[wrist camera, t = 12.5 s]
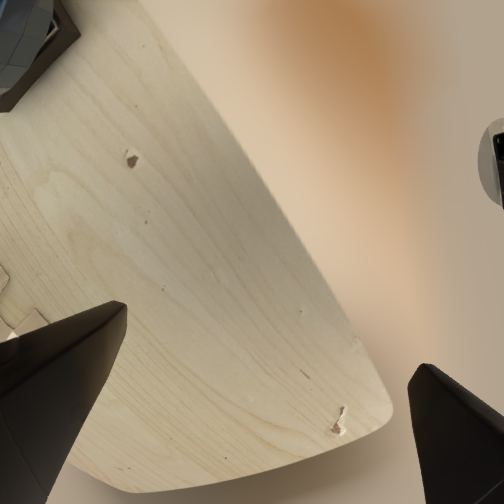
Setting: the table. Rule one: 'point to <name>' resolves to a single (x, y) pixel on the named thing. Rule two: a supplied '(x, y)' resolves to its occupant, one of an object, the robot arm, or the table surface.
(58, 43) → the scale
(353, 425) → the table surface
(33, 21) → the bowl
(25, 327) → the slotted base with upright
